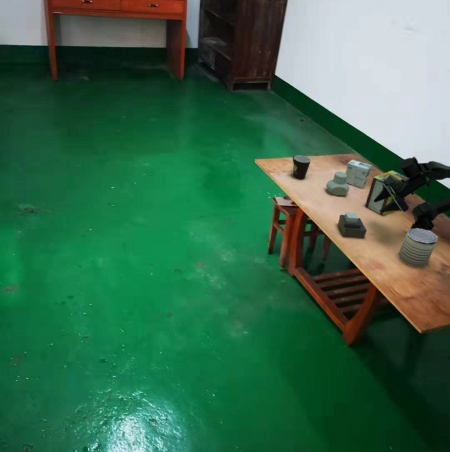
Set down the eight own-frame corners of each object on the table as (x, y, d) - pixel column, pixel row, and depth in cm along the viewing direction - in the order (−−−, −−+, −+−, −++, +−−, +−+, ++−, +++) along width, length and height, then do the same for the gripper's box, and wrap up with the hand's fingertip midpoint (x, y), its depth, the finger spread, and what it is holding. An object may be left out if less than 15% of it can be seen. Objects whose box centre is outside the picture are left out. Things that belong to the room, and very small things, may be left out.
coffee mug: (308, 181, 234) (312, 163, 228) (291, 179, 233) (295, 161, 228) (305, 171, 243) (308, 153, 238) (289, 169, 243) (292, 152, 238)
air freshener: (345, 189, 230) (350, 171, 224) (348, 197, 223) (354, 179, 217) (324, 187, 229) (328, 169, 224) (326, 195, 223) (331, 176, 217)
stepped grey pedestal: (357, 225, 201) (361, 214, 198) (364, 238, 193) (367, 226, 189) (336, 224, 200) (339, 212, 197) (341, 236, 192) (345, 225, 189)
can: (411, 270, 177) (422, 244, 170) (392, 253, 185) (401, 228, 179) (433, 265, 181) (444, 240, 175) (413, 249, 190) (423, 224, 183)
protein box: (401, 207, 219) (411, 178, 211) (382, 216, 211) (392, 186, 202) (382, 198, 226) (392, 169, 217) (364, 206, 217) (373, 176, 209)
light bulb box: (366, 184, 238) (372, 165, 232) (362, 188, 233) (368, 169, 227) (347, 177, 242) (352, 158, 236) (342, 181, 237) (347, 162, 231)
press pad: (354, 218, 195) (355, 213, 194) (356, 223, 192) (358, 218, 190) (344, 217, 195) (345, 212, 194) (346, 222, 191) (348, 217, 190)
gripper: (394, 161, 189) (361, 183, 194) (410, 181, 173) (374, 204, 179) (406, 179, 194) (374, 200, 199) (423, 201, 178) (387, 223, 184)
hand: (377, 206), depth 190 cm, fingers open, 8 cm apart
